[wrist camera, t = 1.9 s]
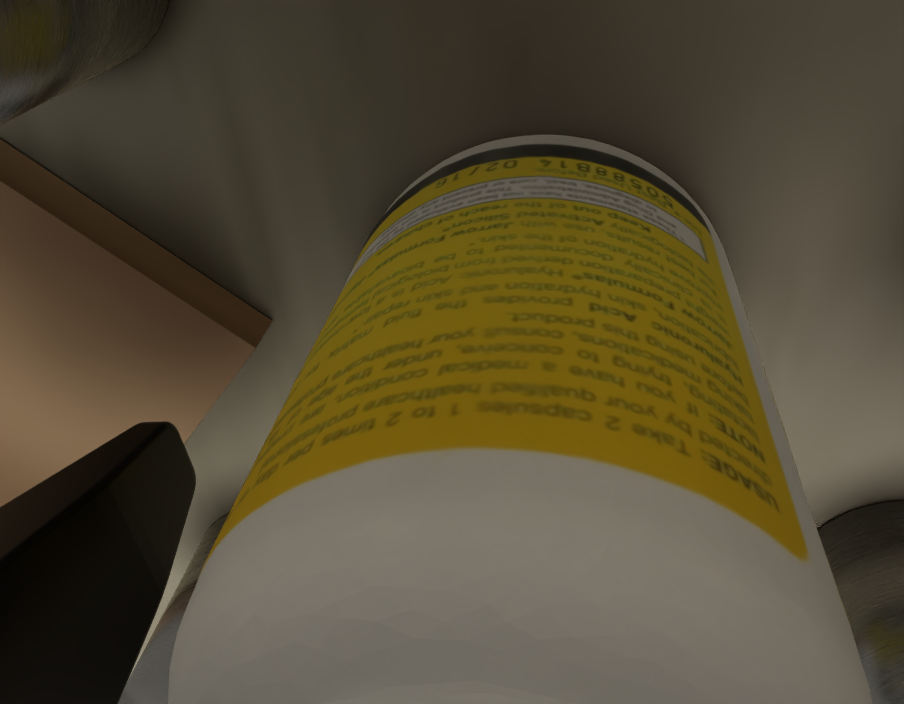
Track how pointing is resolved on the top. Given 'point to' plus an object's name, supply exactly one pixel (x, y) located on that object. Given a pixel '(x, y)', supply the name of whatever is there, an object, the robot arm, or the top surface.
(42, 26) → the grey rounded cylinders
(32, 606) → the robot arm
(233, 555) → the supplement bottle
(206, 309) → the tan square slab
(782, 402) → the top surface
